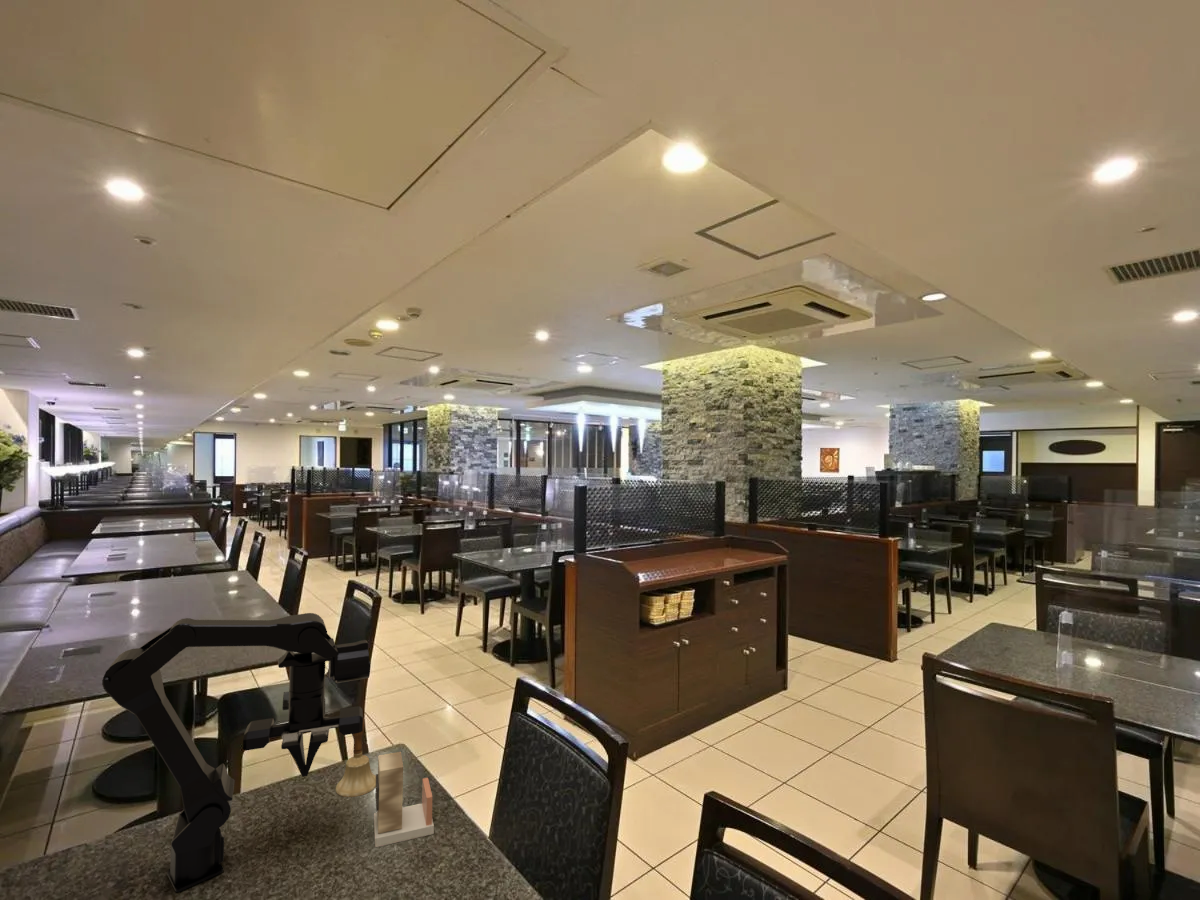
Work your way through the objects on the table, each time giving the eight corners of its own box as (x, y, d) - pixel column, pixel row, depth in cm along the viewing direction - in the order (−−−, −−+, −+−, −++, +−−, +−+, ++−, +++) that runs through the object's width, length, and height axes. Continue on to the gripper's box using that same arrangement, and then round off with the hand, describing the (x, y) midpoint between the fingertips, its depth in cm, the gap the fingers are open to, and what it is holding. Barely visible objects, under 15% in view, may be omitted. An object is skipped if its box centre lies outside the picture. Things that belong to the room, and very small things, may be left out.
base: (375, 847, 102) (376, 810, 102) (373, 821, 109) (374, 786, 110) (433, 833, 106) (434, 797, 106) (428, 809, 113) (429, 776, 114)
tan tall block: (375, 834, 103) (377, 771, 103) (374, 815, 109) (376, 755, 109) (401, 828, 105) (403, 766, 105) (399, 809, 110) (400, 751, 111)
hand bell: (363, 799, 116) (364, 719, 117) (326, 794, 118) (328, 715, 118) (386, 778, 125) (387, 703, 125) (351, 773, 126) (353, 699, 127)
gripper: (362, 665, 115) (361, 745, 114) (254, 678, 107) (252, 763, 107) (363, 686, 104) (361, 773, 104) (243, 701, 97) (241, 795, 97)
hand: (305, 775), depth 103 cm, fingers closed
